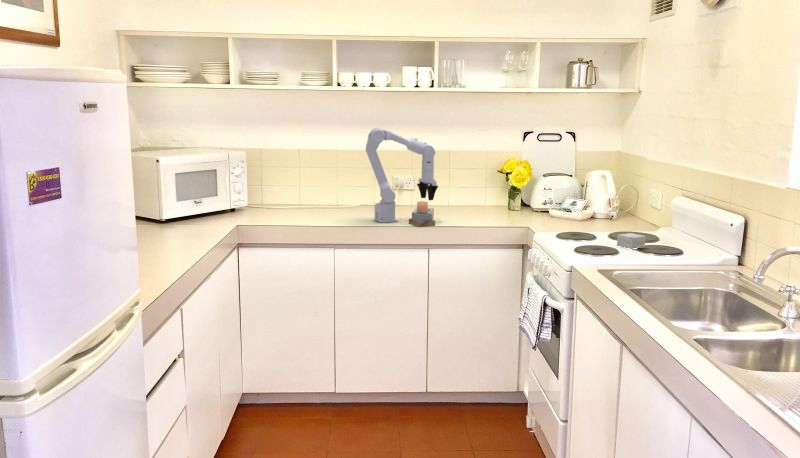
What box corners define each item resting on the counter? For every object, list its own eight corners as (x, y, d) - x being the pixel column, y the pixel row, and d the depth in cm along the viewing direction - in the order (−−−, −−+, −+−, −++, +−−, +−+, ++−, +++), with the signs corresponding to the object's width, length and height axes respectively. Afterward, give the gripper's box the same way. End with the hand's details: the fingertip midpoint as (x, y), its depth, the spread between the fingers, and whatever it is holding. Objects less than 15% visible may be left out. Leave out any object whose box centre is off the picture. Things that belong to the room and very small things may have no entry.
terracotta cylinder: (420, 214, 309) (420, 203, 308) (414, 212, 314) (415, 201, 312) (429, 213, 312) (429, 203, 310) (424, 211, 316) (424, 201, 315)
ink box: (433, 207, 331) (430, 211, 320) (433, 217, 332) (429, 222, 321) (416, 207, 333) (412, 211, 322) (416, 217, 334) (412, 221, 322)
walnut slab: (417, 228, 308) (417, 221, 307) (408, 224, 316) (408, 218, 315) (434, 226, 312) (435, 220, 311) (425, 223, 320) (425, 217, 319)
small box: (629, 244, 276) (630, 232, 275) (645, 248, 269) (646, 235, 268) (616, 246, 272) (617, 234, 271) (631, 250, 265) (632, 237, 264)
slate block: (418, 221, 309) (418, 214, 308) (411, 218, 315) (411, 212, 315) (431, 220, 312) (432, 214, 311) (425, 217, 318) (425, 211, 317)
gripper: (442, 171, 316) (441, 200, 318) (427, 168, 329) (427, 196, 331) (429, 172, 313) (428, 201, 315) (415, 169, 326) (414, 197, 328)
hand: (427, 199), depth 323 cm, fingers open, 7 cm apart
